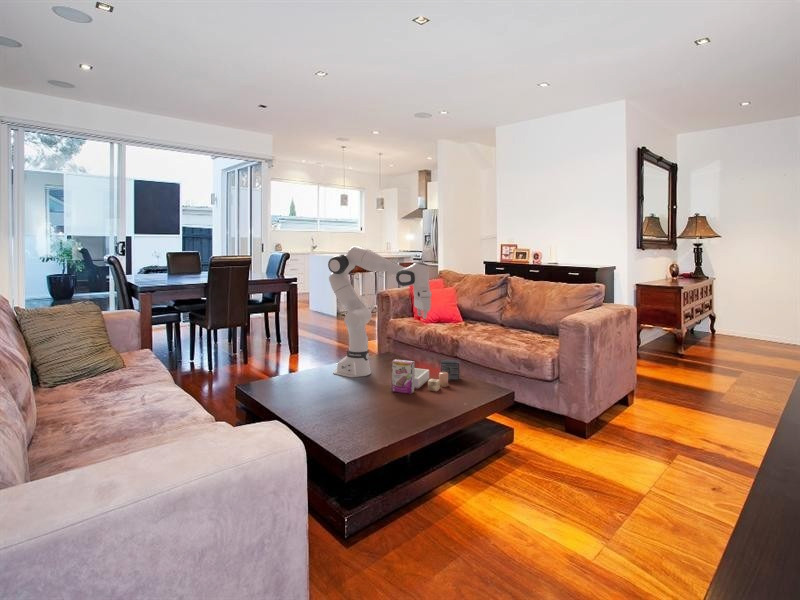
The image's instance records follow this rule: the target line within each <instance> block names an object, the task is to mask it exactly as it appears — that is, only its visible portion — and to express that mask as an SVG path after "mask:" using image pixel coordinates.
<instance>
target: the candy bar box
mask: <svg viewBox="0 0 800 600" xmlns="http://www.w3.org/2000/svg"><path fill="white" fill-rule="evenodd" d="M415 363H416V362H415V360H414V361H412V360H403V359H393V360H392V361H391V392H393V393H400V394H401V393H402V394H409V395H412V394H413V393H414V392H415V388H414V369H415V368H416V367H415Z"/></svg>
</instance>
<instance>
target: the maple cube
mask: <svg viewBox="0 0 800 600" xmlns="http://www.w3.org/2000/svg"><path fill="white" fill-rule="evenodd" d="M439 390H440V380H439V378H437V379H436V378H429V380H428V381H427V391H433V392H438V391H439Z"/></svg>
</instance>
